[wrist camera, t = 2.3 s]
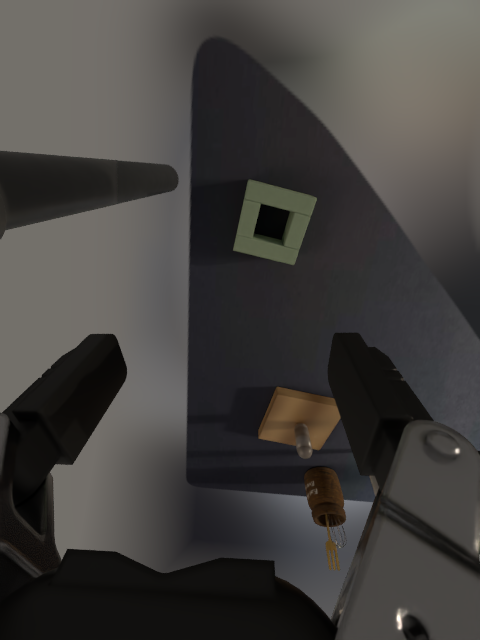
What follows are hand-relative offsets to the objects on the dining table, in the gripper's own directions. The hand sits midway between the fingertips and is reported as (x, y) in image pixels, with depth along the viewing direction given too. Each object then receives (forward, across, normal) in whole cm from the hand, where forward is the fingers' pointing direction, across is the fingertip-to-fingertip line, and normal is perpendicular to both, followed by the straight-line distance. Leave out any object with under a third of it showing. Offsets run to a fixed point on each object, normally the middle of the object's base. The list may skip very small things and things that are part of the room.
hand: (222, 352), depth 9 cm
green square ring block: (+19, -3, -2) cm, 19 cm away
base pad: (+19, -7, +27) cm, 34 cm away
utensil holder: (+19, -12, +43) cm, 48 cm away
